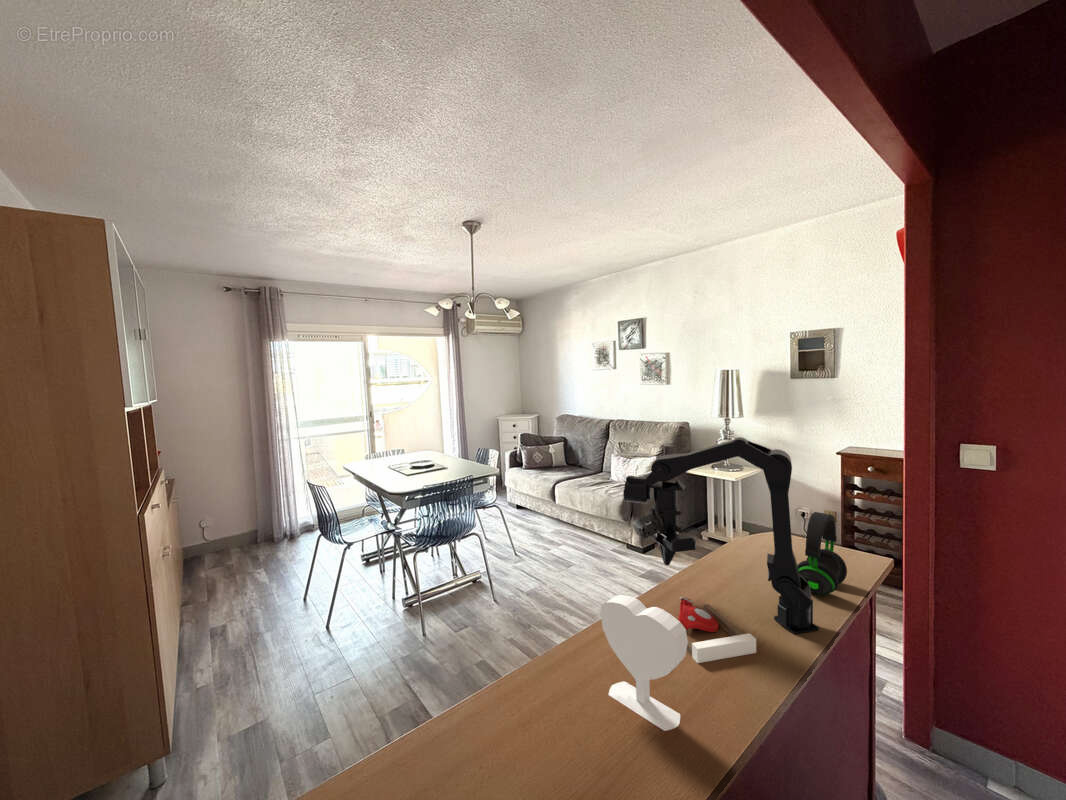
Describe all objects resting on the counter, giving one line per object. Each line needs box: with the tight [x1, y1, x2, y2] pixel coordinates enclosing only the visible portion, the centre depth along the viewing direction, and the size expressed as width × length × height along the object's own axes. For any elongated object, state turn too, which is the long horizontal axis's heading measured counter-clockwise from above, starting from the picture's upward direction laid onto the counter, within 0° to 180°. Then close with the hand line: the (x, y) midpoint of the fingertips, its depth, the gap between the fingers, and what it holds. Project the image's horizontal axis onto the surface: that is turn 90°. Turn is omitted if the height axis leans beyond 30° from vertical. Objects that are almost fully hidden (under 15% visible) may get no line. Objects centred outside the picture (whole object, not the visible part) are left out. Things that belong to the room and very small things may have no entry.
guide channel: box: [686, 603, 757, 664], centre depth 99 cm, size 13×17×3 cm
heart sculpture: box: [600, 594, 689, 732], centre depth 78 cm, size 16×5×18 cm, turn 43°
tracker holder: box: [677, 596, 720, 633], centre depth 104 cm, size 12×4×10 cm
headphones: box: [797, 511, 848, 596], centre depth 116 cm, size 9×16×20 cm, turn 131°
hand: (666, 564), depth 114 cm, fingers closed
